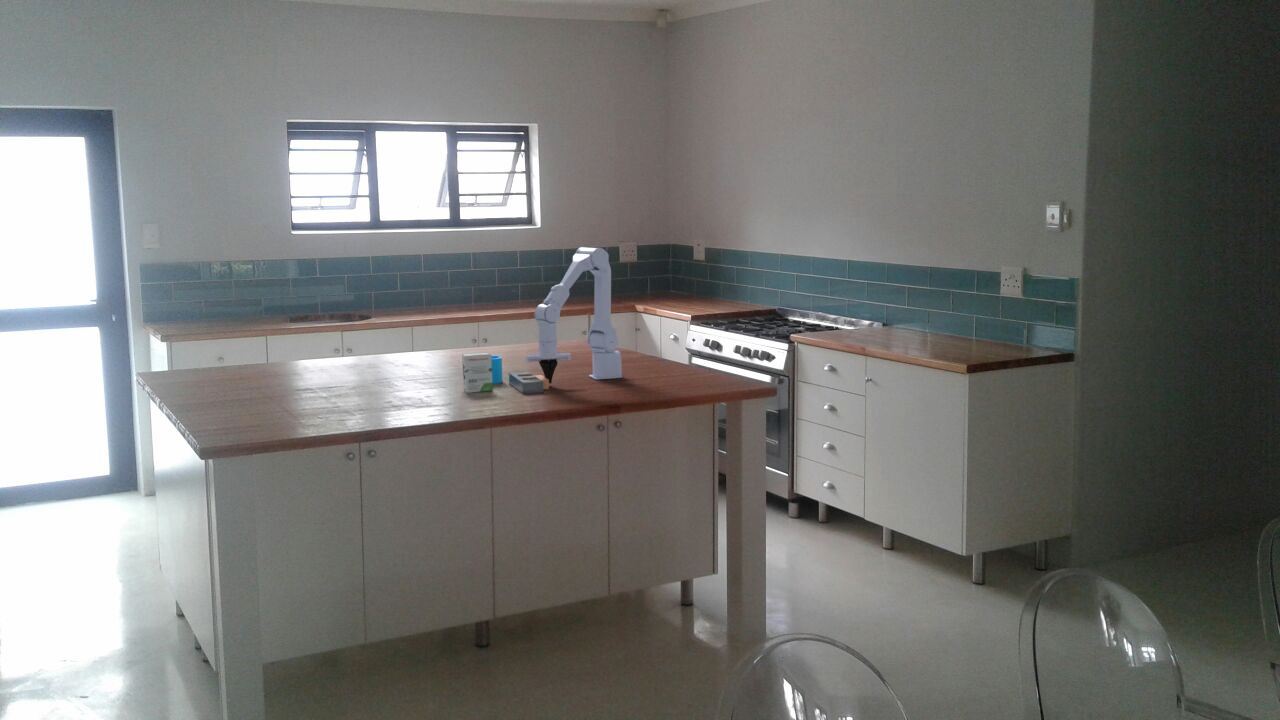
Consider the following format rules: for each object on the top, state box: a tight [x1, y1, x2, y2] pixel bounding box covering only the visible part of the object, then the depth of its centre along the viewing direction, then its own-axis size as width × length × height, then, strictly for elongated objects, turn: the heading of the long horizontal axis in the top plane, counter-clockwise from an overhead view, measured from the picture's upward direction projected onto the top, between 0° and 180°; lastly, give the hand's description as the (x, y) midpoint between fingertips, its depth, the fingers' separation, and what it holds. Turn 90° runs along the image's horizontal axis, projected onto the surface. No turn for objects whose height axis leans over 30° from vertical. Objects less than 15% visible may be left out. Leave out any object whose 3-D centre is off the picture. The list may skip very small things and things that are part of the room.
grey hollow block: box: [508, 371, 544, 395], centre depth 362 cm, size 6×20×4 cm, turn 19°
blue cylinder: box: [491, 355, 503, 385], centre depth 376 cm, size 12×8×8 cm
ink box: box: [461, 352, 494, 394], centre depth 358 cm, size 9×5×12 cm, turn 111°
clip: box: [533, 374, 550, 390], centre depth 363 cm, size 8×10×3 cm
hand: (548, 383), depth 365 cm, fingers closed
